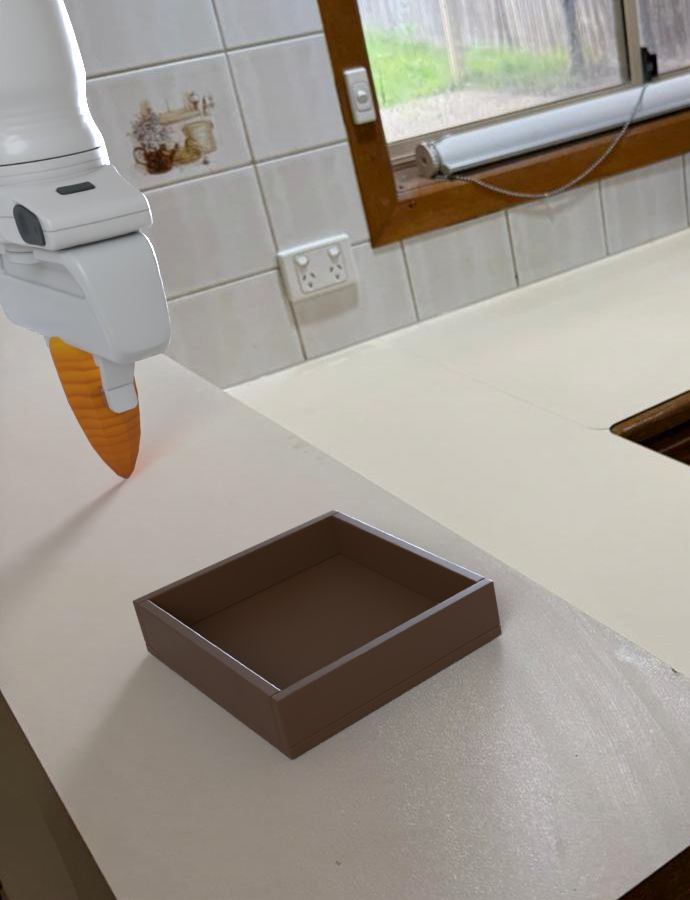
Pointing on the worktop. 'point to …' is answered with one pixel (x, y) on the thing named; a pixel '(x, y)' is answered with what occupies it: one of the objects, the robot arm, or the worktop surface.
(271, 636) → the tray
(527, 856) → the worktop surface
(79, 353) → the carrot
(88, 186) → the robot arm
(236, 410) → the worktop surface
